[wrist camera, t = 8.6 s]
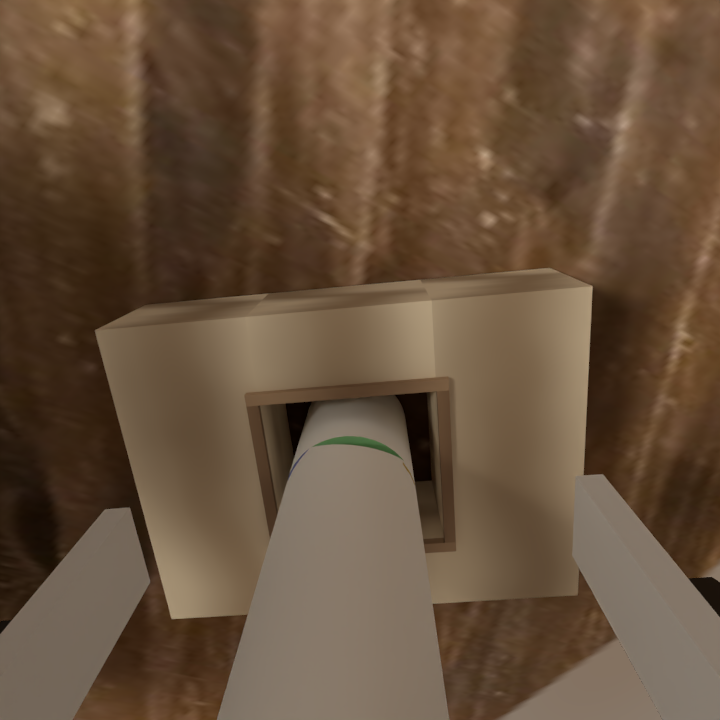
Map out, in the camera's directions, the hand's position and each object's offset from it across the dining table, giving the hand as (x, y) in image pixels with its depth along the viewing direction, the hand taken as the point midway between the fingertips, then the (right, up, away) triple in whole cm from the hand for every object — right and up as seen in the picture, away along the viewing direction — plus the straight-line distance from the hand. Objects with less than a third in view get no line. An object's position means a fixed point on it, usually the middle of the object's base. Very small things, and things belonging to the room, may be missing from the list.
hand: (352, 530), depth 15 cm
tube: (0, +2, +7) cm, 7 cm away
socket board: (0, +2, +7) cm, 7 cm away
